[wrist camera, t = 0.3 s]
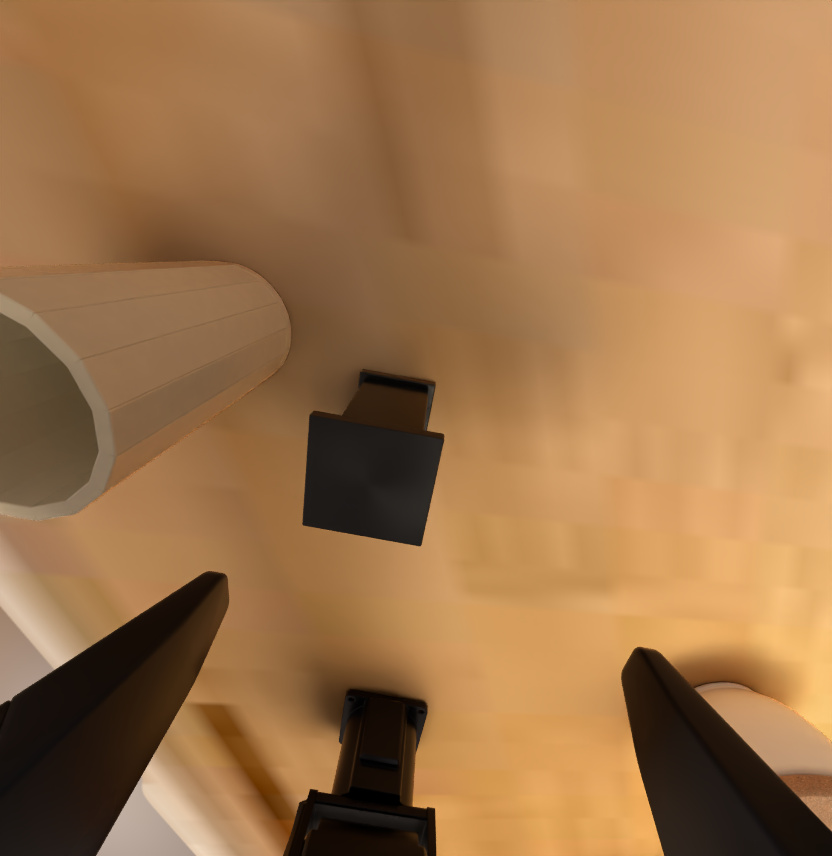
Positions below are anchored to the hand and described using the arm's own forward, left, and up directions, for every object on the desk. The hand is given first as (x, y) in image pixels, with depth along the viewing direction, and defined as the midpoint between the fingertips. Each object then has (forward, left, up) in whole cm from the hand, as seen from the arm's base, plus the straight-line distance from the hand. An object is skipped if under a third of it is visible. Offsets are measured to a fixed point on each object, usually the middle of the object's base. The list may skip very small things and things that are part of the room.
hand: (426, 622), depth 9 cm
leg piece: (-1, +2, -15) cm, 15 cm away
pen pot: (+2, +11, -15) cm, 19 cm away
